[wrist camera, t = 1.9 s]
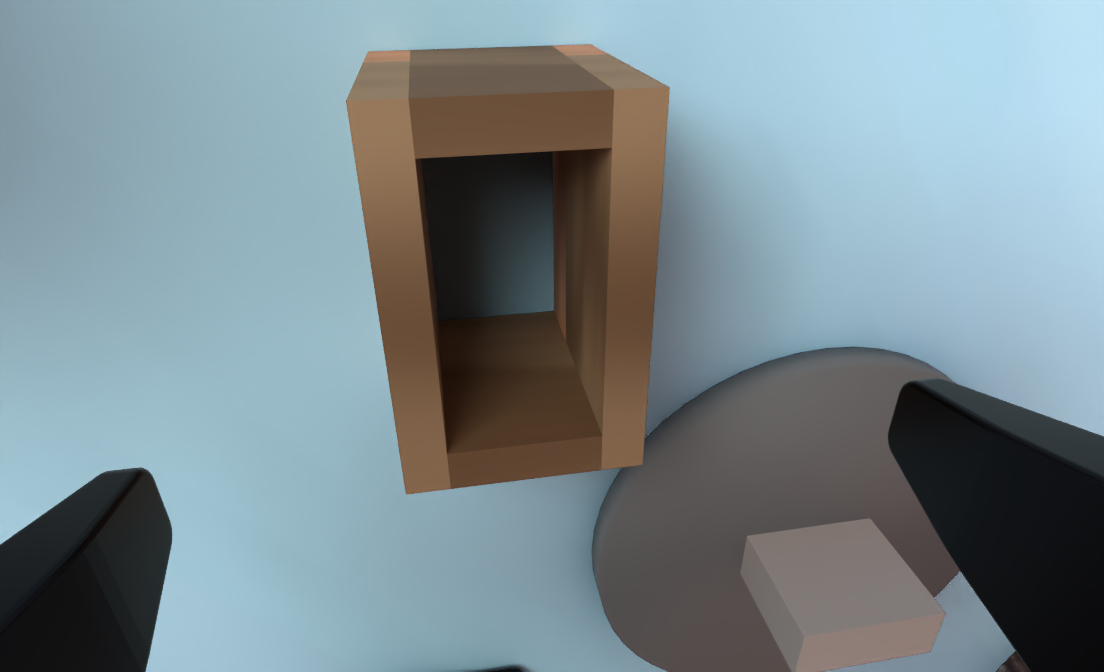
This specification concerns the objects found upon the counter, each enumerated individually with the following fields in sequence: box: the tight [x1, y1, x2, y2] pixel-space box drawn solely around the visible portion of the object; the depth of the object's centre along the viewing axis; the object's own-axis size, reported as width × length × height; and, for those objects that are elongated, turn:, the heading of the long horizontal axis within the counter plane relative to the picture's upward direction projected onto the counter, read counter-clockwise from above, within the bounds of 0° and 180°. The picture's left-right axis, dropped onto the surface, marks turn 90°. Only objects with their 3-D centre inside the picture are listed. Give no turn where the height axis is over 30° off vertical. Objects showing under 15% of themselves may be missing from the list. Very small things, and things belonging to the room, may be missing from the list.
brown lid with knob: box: [592, 347, 960, 672], centre depth 20 cm, size 13×13×4 cm
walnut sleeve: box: [346, 44, 670, 494], centre depth 13 cm, size 7×4×5 cm, turn 1°
